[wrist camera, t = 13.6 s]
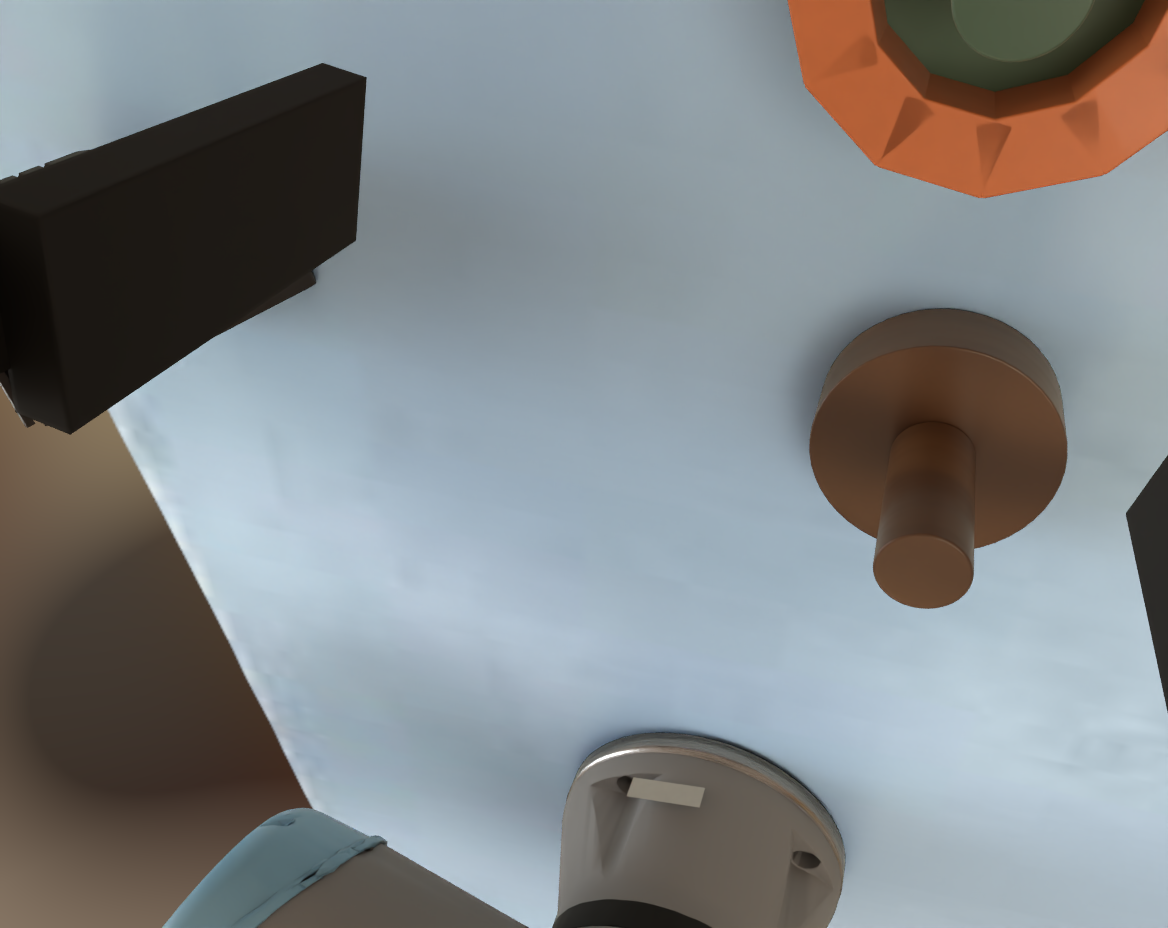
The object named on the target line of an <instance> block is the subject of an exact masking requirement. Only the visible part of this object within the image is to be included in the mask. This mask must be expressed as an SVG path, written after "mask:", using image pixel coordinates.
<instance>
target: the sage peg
mask: <svg viewBox="0 0 1168 928" xmlns="http://www.w3.org/2000/svg"><path fill="white" fill-rule="evenodd" d="M1144 1H1145V0H884V3H885V9H886V16H887V22H888V24H889V26H890V27H891V28H892V29H893V30H894V31H895V33H896V34H897V35H898V36H899V37H900V38H901V40H902V41H903V42H904V43H905V44H906V45H907V47H908V48H909V49H910V50H911V51H912V52H913V54H914V55H915V56H916V57H917V58H918V59H919V61H920V62H921V63H922V64H923V65H924V66H925V68H926V69H927V70H928V71H929V72H930V73H931V74H935V75H938V76H942V77H945V78H949V79H952V80H956V81H959V82H963V83H966V84H969V85H973V86H976V87H980V88H983V89H987V90H990V91H994V92H996V91H1001V90H1005V89H1009V88H1013V87H1018V86H1022V85H1026V84H1030V83H1035V82H1039V81H1043V80H1047V79H1052V78H1056V77H1060V76H1064V75H1068V74H1069V73H1071V72H1072V71H1073V70H1074V69H1076V68H1077V67H1078V66H1079V65H1081V64H1082V63H1083V62H1084V61H1086V60H1087V59H1088V58H1090V57H1091V56H1092V55H1093V54H1095V53H1096V52H1097V51H1098V50H1100V49H1101V48H1102V47H1103V46H1105V45H1106V44H1107V43H1108V42H1110V41H1111V40H1112V39H1113V38H1115V37H1116V36H1117V35H1118V34H1120V33H1121V32H1122V31H1123V30H1125V29H1126V28H1127V27H1128V26H1130V25H1131V24H1132V23H1133V22H1134V20H1135V18H1136V16H1137V14H1138V13H1139V11H1140V9H1141V7H1142V5H1143V3H1144Z"/></svg>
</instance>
